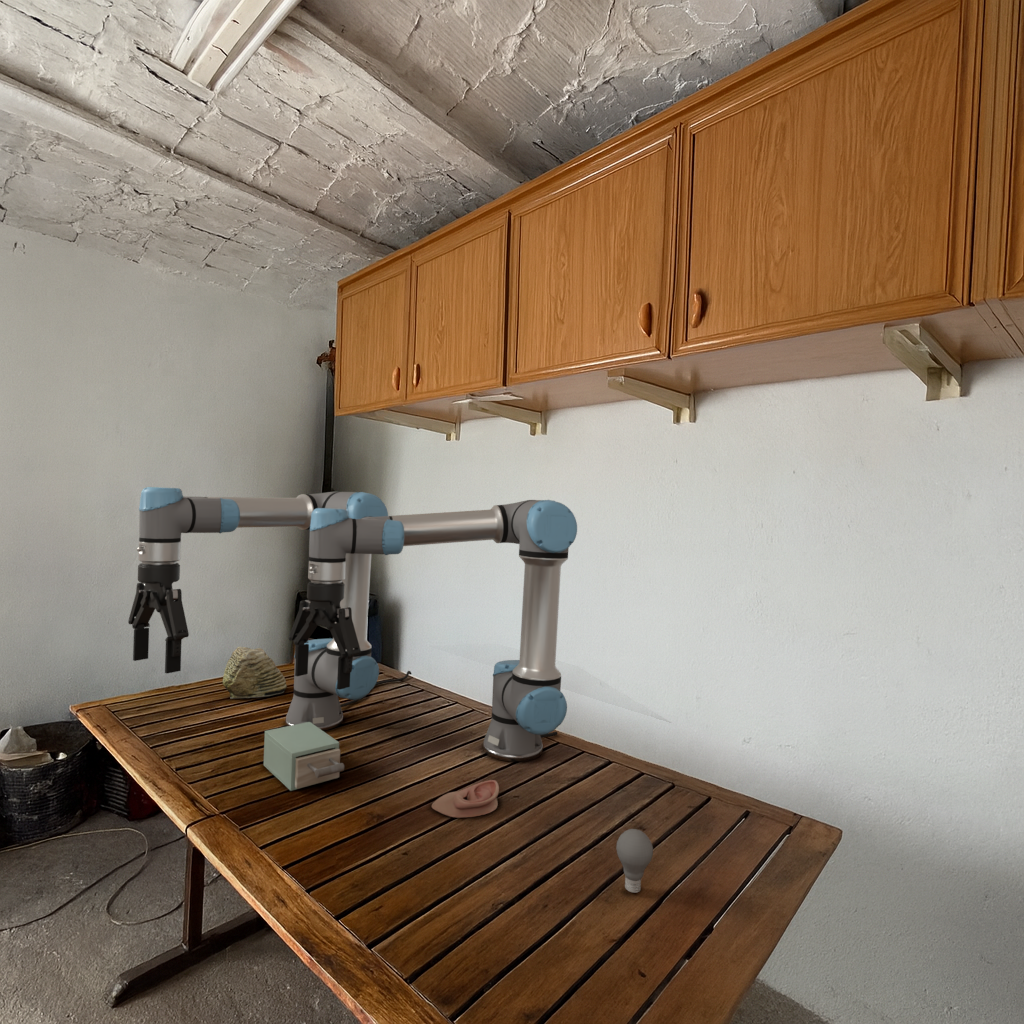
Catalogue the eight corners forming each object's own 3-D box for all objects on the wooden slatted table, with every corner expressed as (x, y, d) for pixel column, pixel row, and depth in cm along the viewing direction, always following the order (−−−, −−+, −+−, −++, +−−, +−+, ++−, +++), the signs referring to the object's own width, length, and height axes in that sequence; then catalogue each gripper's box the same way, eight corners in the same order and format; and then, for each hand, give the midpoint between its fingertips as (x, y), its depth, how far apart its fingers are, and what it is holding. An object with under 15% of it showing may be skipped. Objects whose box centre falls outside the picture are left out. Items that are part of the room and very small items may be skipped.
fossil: (218, 695, 195) (220, 647, 195) (278, 685, 208) (279, 640, 207) (228, 703, 189) (230, 653, 188) (289, 692, 201) (290, 645, 201)
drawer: (351, 787, 137) (353, 758, 137) (308, 799, 130) (309, 770, 130) (311, 755, 152) (312, 729, 152) (271, 765, 146) (272, 738, 146)
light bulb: (610, 879, 108) (613, 822, 108) (644, 879, 109) (647, 822, 109) (619, 902, 102) (622, 840, 102) (655, 901, 103) (658, 840, 103)
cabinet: (338, 778, 143) (339, 742, 143) (290, 791, 136) (292, 753, 136) (308, 754, 155) (309, 721, 155) (263, 765, 148) (264, 730, 148)
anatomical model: (427, 794, 128) (444, 771, 139) (426, 813, 128) (443, 788, 139) (490, 803, 125) (503, 779, 137) (489, 823, 126) (502, 797, 137)
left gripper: (112, 558, 134) (109, 657, 134) (171, 569, 119) (167, 681, 120) (149, 556, 140) (146, 651, 140) (209, 567, 125) (206, 673, 126)
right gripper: (274, 576, 138) (270, 673, 138) (352, 589, 123) (347, 698, 124) (303, 573, 144) (299, 666, 144) (381, 586, 130) (376, 689, 130)
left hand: (156, 665), depth 130 cm, fingers open, 13 cm apart
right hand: (321, 681), depth 134 cm, fingers open, 13 cm apart
